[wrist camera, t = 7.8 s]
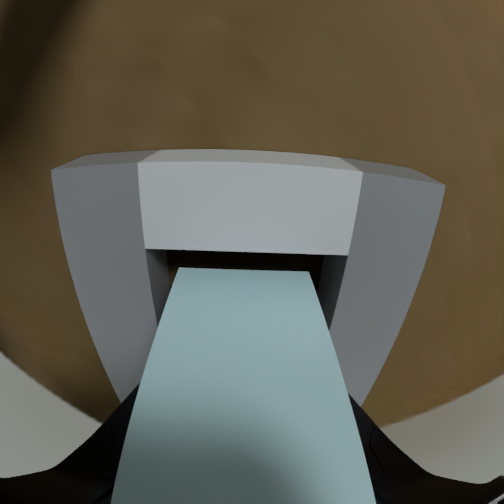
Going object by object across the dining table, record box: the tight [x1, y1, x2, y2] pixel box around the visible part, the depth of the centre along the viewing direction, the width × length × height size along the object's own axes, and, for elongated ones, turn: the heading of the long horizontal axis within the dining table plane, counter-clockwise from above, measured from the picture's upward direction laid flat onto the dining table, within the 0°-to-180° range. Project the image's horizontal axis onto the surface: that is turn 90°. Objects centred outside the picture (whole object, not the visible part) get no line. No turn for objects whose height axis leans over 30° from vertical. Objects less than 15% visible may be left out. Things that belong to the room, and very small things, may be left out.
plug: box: [111, 267, 376, 504], centre depth 7 cm, size 4×6×10 cm
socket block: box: [51, 149, 446, 407], centre depth 12 cm, size 13×13×2 cm
